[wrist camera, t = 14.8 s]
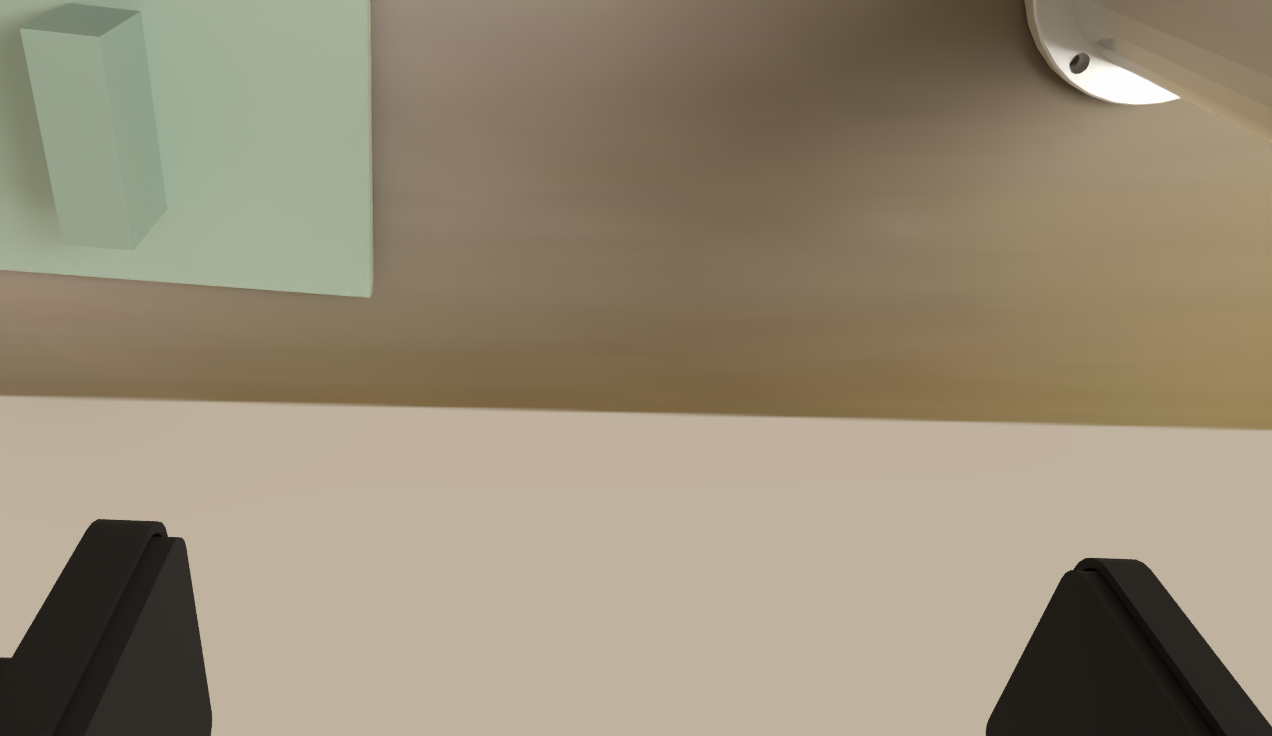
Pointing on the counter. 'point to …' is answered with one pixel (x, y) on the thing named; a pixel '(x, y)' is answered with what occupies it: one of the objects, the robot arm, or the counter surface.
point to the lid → (189, 142)
